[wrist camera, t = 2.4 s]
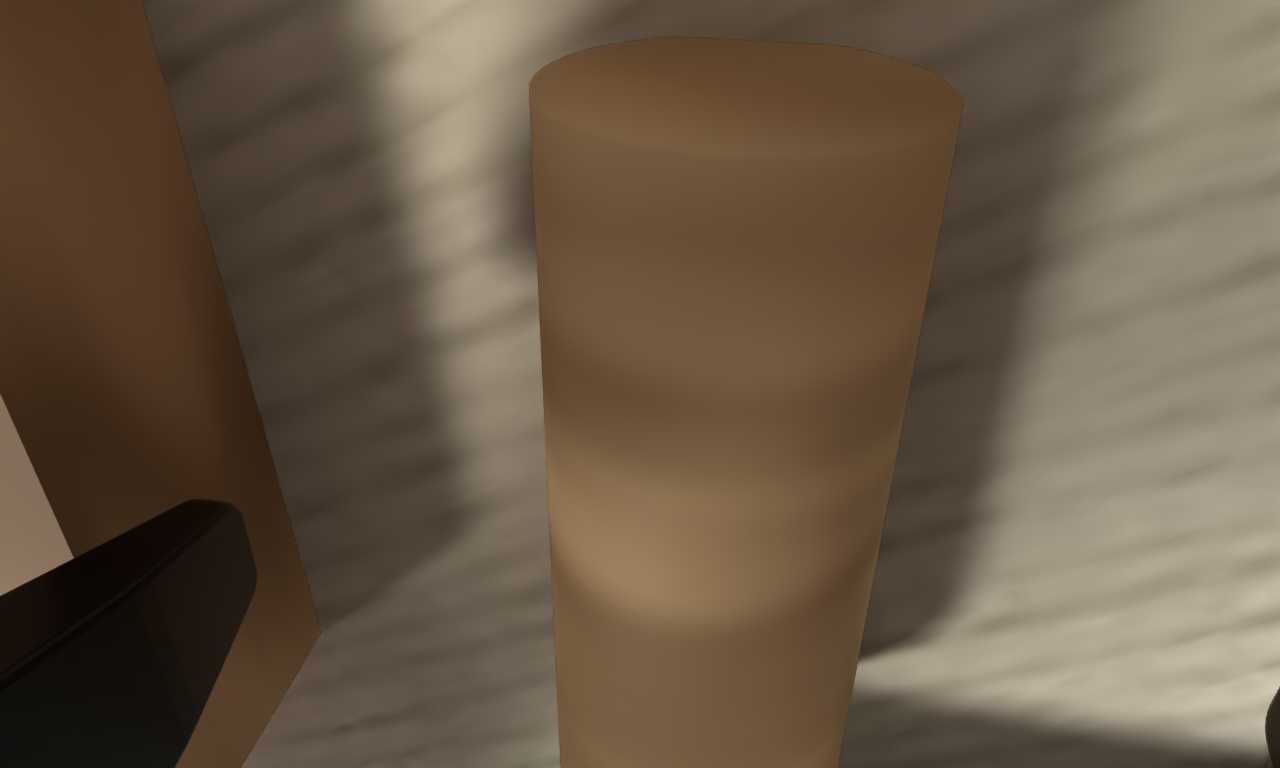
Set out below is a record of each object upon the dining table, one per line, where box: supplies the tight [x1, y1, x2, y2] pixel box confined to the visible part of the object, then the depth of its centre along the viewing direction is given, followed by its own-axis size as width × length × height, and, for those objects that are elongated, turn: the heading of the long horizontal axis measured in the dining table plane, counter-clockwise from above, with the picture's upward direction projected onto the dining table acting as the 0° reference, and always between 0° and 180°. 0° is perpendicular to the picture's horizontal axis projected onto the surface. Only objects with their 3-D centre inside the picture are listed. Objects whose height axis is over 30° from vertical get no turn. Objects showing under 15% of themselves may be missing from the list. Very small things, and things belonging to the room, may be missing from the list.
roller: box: [529, 37, 963, 768], centre depth 10 cm, size 8×3×3 cm, turn 179°
